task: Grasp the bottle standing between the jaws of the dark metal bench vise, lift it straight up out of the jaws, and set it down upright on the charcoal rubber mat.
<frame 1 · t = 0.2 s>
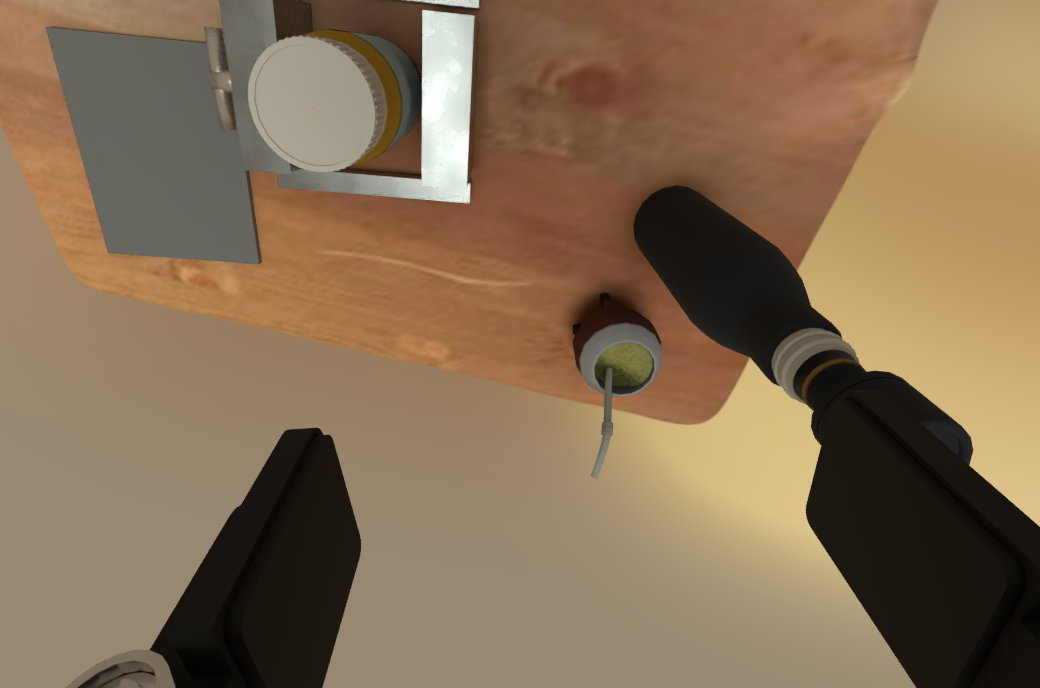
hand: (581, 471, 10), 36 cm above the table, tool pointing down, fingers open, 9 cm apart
bottle: (376, 90, 40), resting in vise
vise: (376, 90, 39), on the table
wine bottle: (671, 224, 45), on the table
mate gourd: (604, 327, 49), on the table
mat: (166, 156, 41), on the table
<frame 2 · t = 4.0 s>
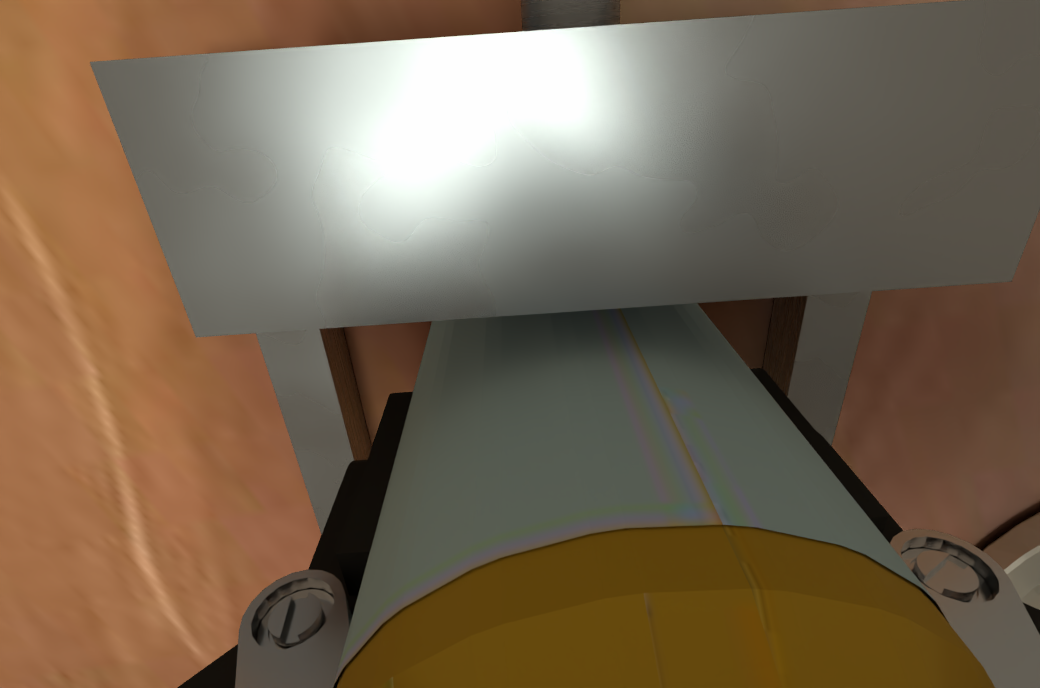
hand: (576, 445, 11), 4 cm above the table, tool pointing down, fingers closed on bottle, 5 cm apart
bottle: (558, 342, 15), resting in vise, touching gripper
vise: (559, 346, 15), on the table
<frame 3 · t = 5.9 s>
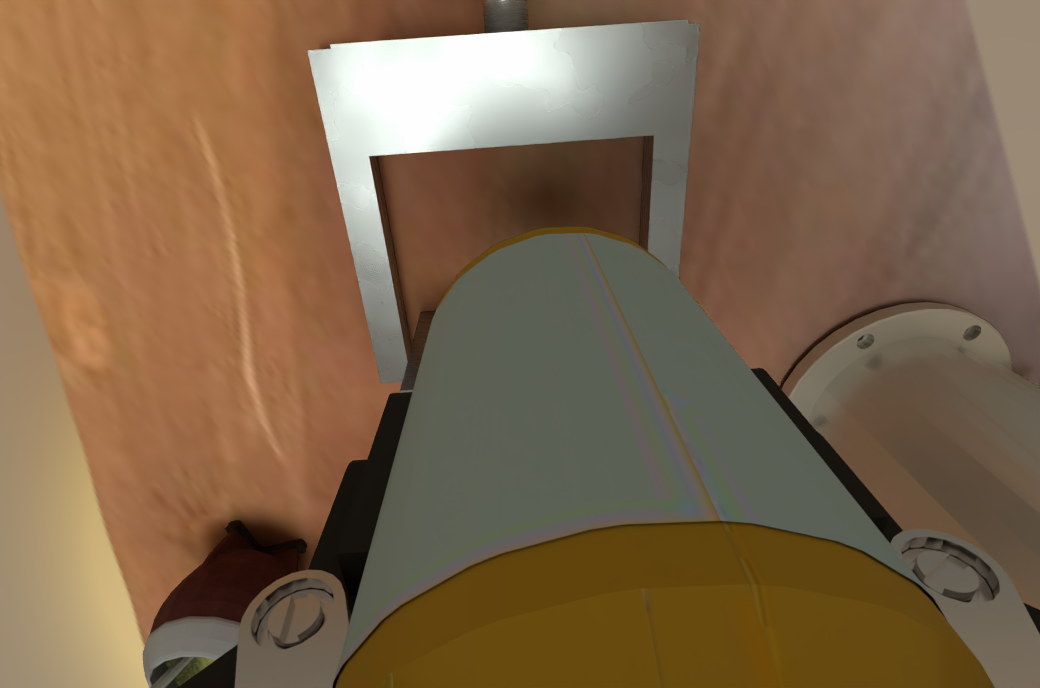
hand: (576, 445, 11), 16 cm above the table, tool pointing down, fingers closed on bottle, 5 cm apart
bottle: (558, 341, 15), point 11 cm above the table, touching gripper
vise: (515, 219, 25), on the table
mate gourd: (253, 551, 34), on the table
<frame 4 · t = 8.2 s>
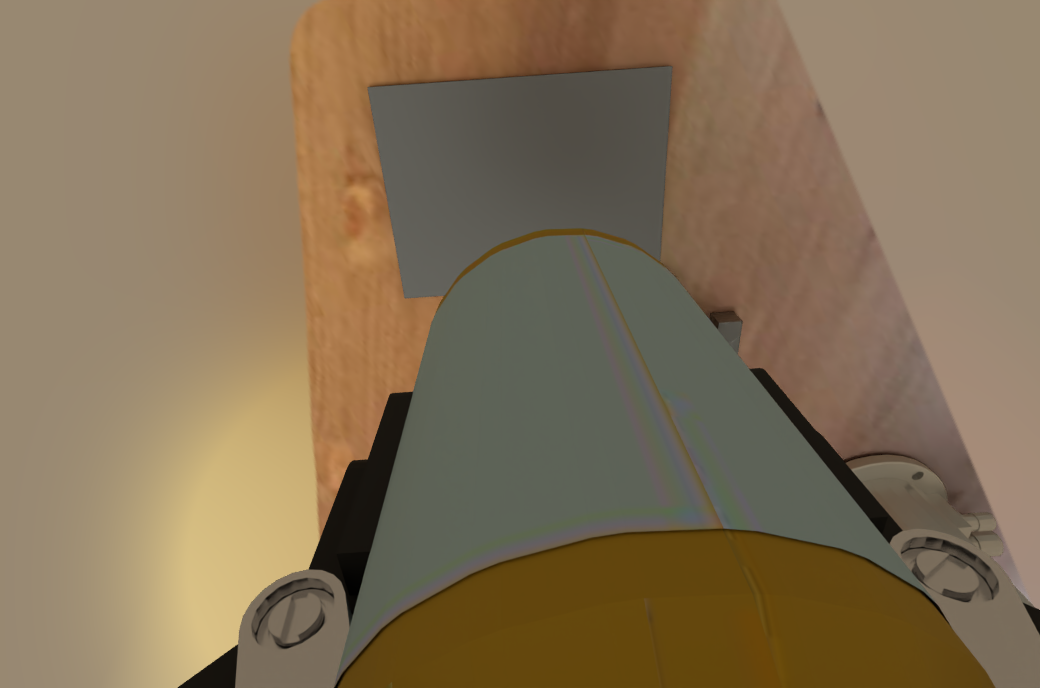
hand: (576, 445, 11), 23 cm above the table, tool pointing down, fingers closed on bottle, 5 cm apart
bottle: (558, 343, 15), point 19 cm above the table, touching gripper
vise: (621, 409, 39), on the table
mat: (525, 190, 31), on the table
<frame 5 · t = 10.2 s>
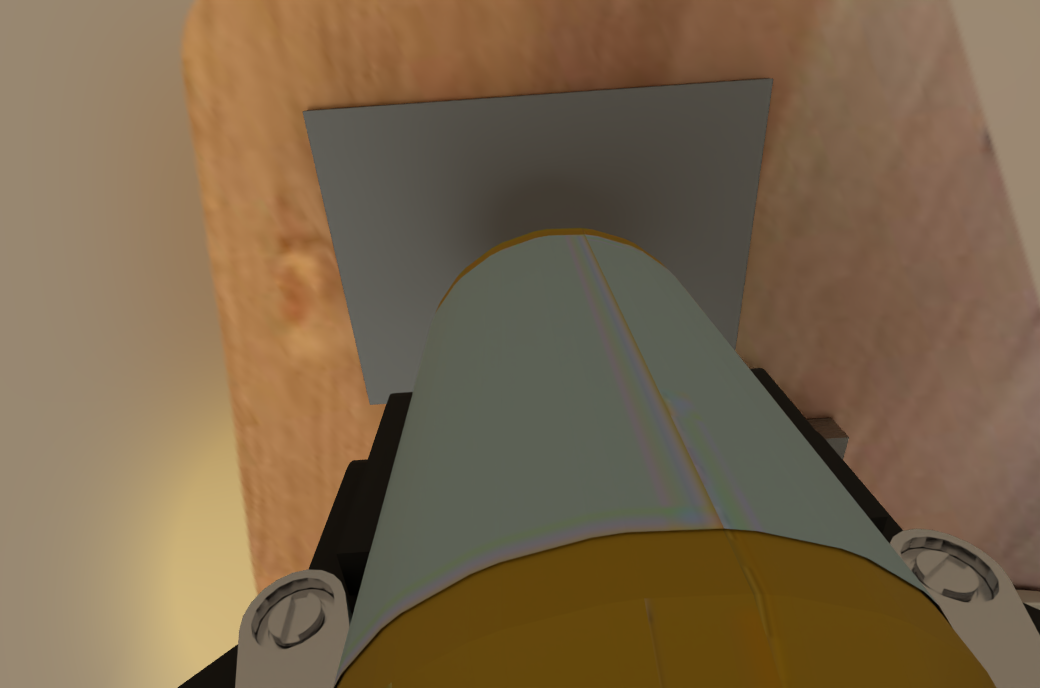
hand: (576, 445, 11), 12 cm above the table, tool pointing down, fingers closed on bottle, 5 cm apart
bottle: (558, 343, 15), point 7 cm above the table, touching gripper
vise: (667, 537, 29), on the table
mat: (543, 259, 21), on the table
when the fingers open (6 cm above the table, at t = 12.3 s): bottle drops 1 cm, resting on mat.
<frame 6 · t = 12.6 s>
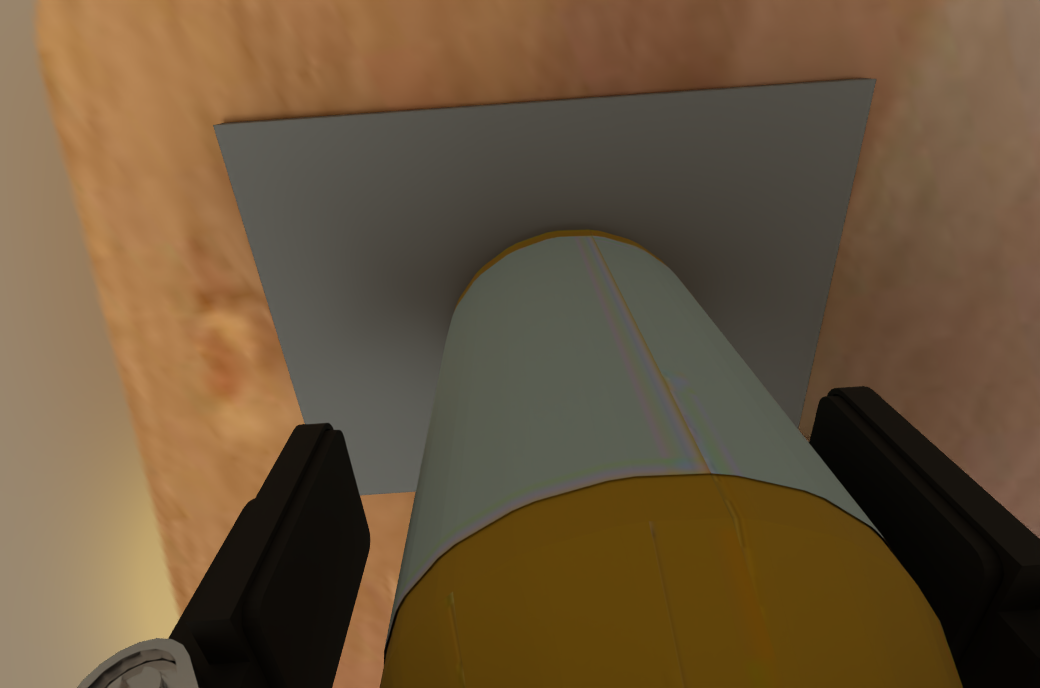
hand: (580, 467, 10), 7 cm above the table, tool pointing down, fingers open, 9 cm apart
bottle: (567, 335, 16), resting on mat
mat: (551, 318, 16), on the table
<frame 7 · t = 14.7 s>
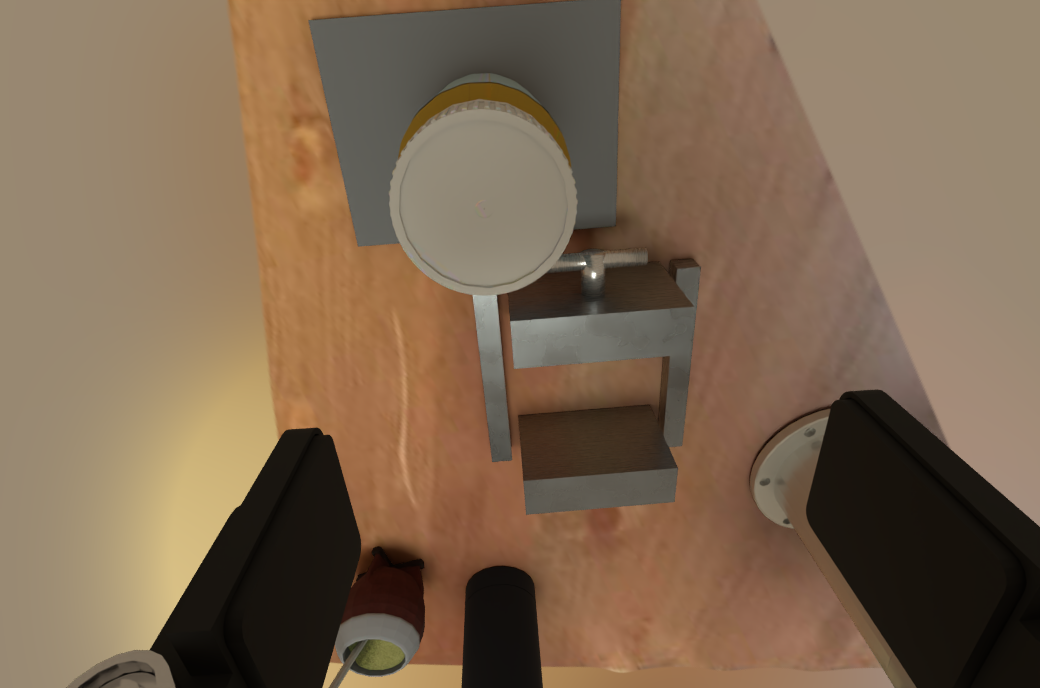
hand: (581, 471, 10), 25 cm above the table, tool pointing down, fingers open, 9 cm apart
bottle: (485, 140, 31), resting on mat
vise: (583, 362, 39), on the table
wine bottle: (500, 586, 50), on the table
mate gourd: (385, 567, 48), on the table
mat: (477, 132, 31), on the table
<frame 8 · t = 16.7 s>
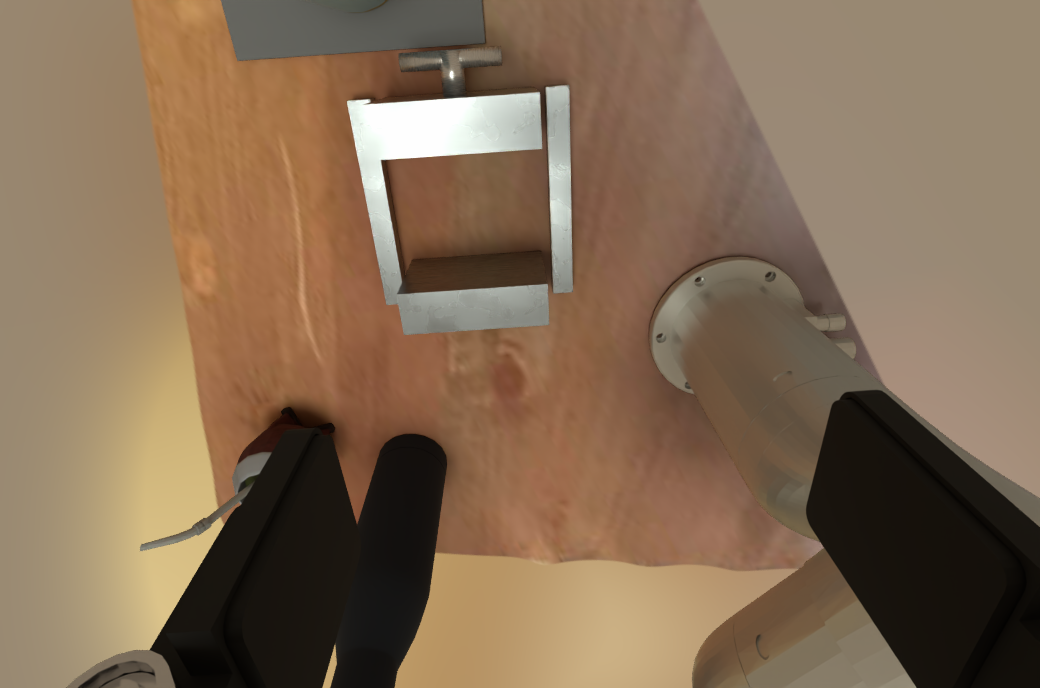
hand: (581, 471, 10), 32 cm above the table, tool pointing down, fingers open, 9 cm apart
vise: (470, 200, 40), on the table
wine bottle: (413, 459, 51), on the table
mate gourd: (298, 432, 49), on the table
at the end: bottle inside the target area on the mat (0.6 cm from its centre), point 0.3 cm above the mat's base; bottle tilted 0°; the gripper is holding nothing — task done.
